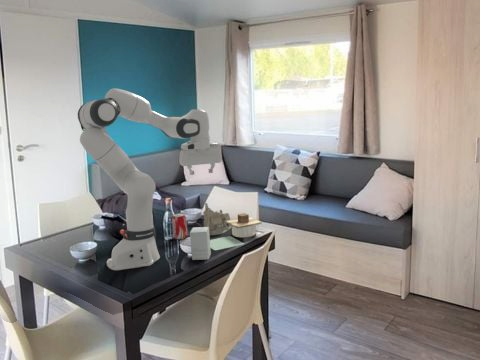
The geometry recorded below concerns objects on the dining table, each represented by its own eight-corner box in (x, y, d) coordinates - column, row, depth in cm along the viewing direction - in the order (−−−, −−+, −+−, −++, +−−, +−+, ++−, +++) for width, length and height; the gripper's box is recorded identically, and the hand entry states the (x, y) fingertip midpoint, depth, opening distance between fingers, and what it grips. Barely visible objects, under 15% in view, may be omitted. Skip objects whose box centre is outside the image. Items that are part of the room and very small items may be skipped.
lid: (225, 222, 233) (225, 213, 232) (248, 217, 239) (248, 209, 238) (237, 228, 222) (237, 219, 221) (261, 223, 228) (261, 215, 227)
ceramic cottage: (206, 236, 231) (205, 206, 229) (199, 229, 247) (199, 201, 245) (236, 234, 235) (236, 205, 233) (228, 227, 251) (228, 199, 249)
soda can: (185, 240, 227) (183, 216, 225) (171, 240, 229) (169, 216, 227) (189, 236, 234) (187, 212, 232) (176, 235, 236) (174, 212, 233)
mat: (215, 251, 210) (215, 250, 210) (201, 242, 223) (201, 241, 223) (244, 244, 217) (244, 243, 217) (230, 236, 230) (230, 235, 230)
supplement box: (211, 254, 207) (209, 226, 204) (208, 260, 200) (206, 231, 197) (194, 254, 208) (192, 227, 205) (191, 260, 200) (189, 232, 198)
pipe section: (239, 239, 224) (238, 227, 223) (228, 233, 234) (227, 222, 233) (260, 235, 229) (259, 223, 228) (248, 229, 239) (248, 218, 238)
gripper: (217, 142, 225) (218, 170, 228) (177, 145, 216) (178, 175, 219) (223, 143, 220) (224, 172, 222) (182, 146, 211) (183, 176, 213)
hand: (201, 173), depth 220 cm, fingers open, 8 cm apart
